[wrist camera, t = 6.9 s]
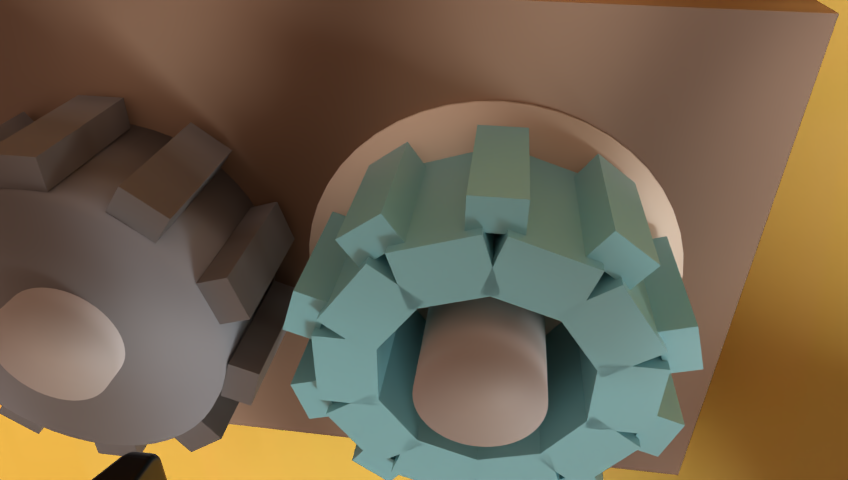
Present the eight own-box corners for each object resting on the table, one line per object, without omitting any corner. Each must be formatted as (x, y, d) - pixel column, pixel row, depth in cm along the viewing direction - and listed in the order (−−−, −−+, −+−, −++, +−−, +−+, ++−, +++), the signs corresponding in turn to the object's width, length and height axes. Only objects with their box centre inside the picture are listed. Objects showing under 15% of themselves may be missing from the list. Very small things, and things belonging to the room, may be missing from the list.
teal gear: (705, 133, 11) (758, 222, 9) (631, 416, 15) (653, 535, 12) (313, 111, 12) (257, 187, 9) (337, 386, 16) (301, 492, 13)
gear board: (803, -8, 11) (968, 91, 7) (666, 427, 17) (712, 621, 13) (-90, -43, 13) (-383, 20, 9) (66, 363, 19) (-63, 515, 15)
